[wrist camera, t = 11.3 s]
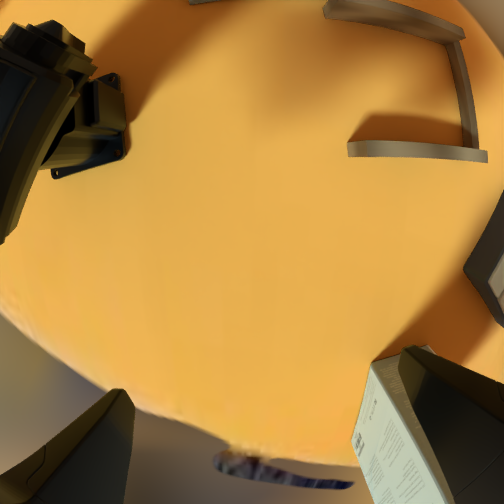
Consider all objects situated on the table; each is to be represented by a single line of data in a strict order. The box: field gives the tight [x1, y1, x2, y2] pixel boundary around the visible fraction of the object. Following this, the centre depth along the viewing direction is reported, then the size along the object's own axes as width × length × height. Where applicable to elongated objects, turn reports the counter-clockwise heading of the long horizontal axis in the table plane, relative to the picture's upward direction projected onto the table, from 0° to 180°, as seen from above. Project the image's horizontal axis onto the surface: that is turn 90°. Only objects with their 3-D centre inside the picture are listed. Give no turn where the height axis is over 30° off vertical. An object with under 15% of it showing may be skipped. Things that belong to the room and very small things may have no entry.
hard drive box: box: [351, 345, 455, 504], centre depth 16 cm, size 16×8×20 cm, turn 7°
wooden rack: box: [323, 0, 488, 163], centre depth 14 cm, size 13×12×3 cm
